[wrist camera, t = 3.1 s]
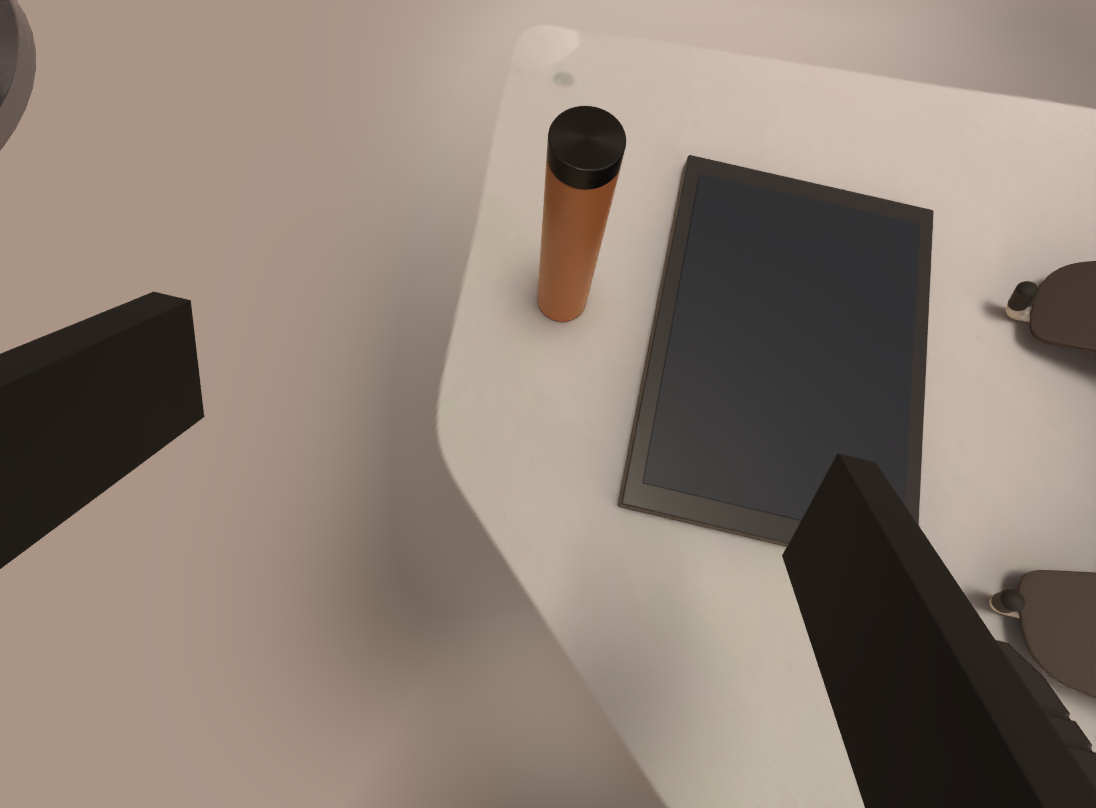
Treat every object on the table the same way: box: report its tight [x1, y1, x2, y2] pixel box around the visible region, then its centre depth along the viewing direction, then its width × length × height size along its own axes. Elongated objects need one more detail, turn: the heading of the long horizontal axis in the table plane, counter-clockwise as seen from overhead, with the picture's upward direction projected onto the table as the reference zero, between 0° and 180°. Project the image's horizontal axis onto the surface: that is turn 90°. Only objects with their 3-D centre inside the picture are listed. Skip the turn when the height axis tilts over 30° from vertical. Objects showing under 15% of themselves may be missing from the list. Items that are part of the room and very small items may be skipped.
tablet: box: [618, 155, 933, 546], centre depth 30 cm, size 14×20×1 cm
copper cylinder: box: [538, 106, 626, 322], centre depth 25 cm, size 3×3×12 cm
